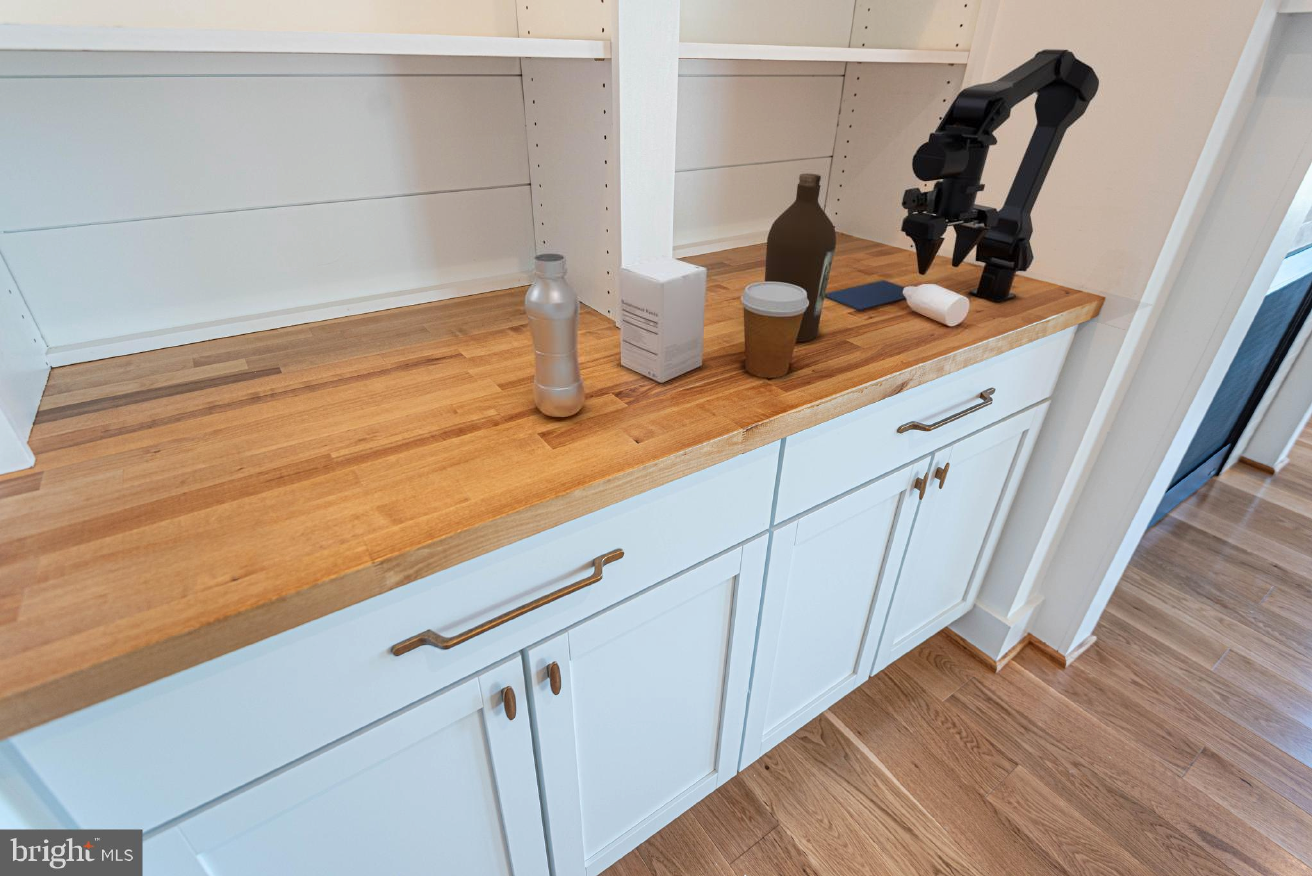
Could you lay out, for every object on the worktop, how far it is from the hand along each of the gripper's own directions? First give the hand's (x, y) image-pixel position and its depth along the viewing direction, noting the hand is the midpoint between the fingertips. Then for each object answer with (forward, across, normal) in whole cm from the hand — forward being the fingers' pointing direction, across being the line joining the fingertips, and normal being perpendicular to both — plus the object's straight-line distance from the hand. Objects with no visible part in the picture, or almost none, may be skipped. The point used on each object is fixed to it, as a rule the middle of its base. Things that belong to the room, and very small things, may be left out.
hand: (938, 270), depth 112 cm
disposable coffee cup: (+8, +41, +2) cm, 42 cm away
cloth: (+8, 0, -13) cm, 15 cm away
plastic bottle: (+8, +73, -2) cm, 74 cm away
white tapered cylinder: (+8, 0, 0) cm, 9 cm away
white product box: (+8, +54, -6) cm, 55 cm away
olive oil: (+8, +28, -6) cm, 30 cm away
